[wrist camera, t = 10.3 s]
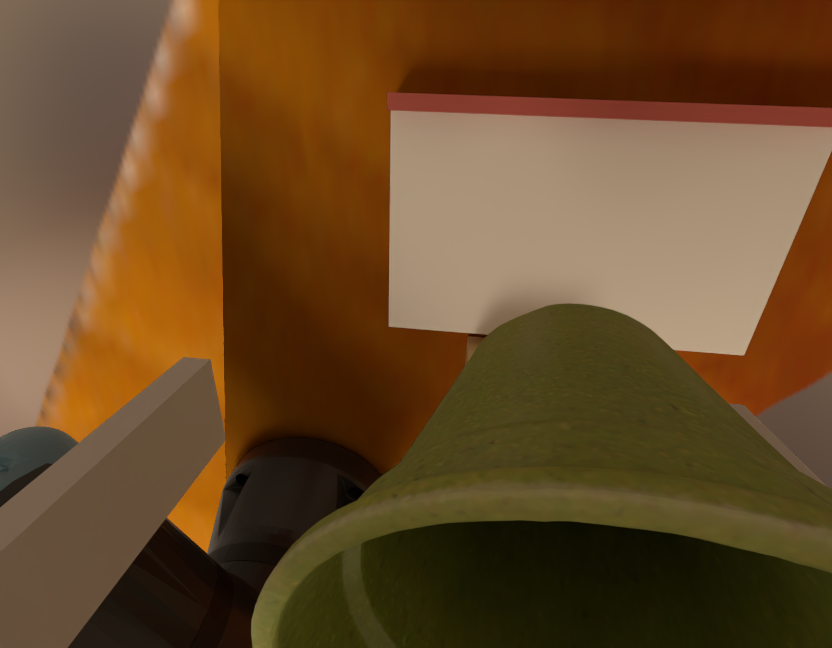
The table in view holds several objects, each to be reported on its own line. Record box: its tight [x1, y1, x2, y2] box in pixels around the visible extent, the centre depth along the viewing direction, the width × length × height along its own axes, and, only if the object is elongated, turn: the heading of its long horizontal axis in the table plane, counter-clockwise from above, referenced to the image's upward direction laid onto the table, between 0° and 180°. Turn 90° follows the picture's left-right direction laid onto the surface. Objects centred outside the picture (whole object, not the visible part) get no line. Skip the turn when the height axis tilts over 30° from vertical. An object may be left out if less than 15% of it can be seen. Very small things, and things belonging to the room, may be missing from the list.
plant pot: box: [251, 303, 832, 648], centre depth 9 cm, size 9×9×9 cm
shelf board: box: [387, 92, 832, 355], centre depth 25 cm, size 23×14×3 cm, turn 88°
